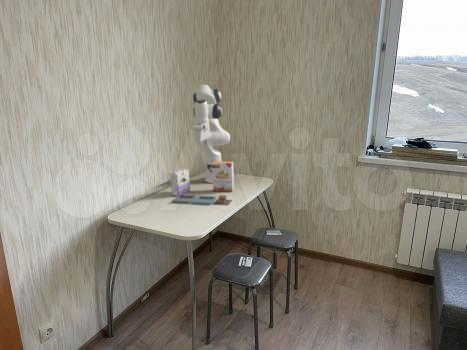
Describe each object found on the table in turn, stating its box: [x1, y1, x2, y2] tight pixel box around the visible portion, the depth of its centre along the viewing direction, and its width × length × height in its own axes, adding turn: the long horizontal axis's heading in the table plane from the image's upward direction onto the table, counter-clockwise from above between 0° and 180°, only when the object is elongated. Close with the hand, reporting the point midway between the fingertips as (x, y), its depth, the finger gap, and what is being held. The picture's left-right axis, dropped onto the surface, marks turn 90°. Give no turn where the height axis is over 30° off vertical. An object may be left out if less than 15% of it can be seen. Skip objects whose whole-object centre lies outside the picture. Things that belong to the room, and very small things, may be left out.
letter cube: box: [218, 194, 228, 203], centre depth 221 cm, size 4×4×4 cm
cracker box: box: [212, 160, 235, 193], centre depth 245 cm, size 14×6×21 cm, turn 76°
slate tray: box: [192, 195, 217, 206], centre depth 224 cm, size 12×12×2 cm
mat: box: [212, 199, 233, 206], centre depth 221 cm, size 10×10×1 cm
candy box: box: [169, 168, 191, 197], centre depth 243 cm, size 14×6×16 cm, turn 149°
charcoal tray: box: [172, 194, 198, 205], centre depth 228 cm, size 12×12×2 cm
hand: (203, 146), depth 230 cm, fingers open, 8 cm apart
